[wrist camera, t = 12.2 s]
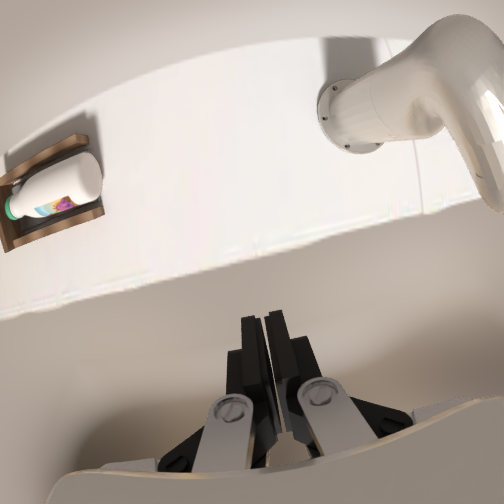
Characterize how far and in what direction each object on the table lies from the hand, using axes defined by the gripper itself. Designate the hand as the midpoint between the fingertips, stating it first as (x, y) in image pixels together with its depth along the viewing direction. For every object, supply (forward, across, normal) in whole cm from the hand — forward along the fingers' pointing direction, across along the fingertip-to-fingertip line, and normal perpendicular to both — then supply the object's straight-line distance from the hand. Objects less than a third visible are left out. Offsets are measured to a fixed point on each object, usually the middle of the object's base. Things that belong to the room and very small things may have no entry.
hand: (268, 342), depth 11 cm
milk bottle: (+29, +21, -12) cm, 37 cm away
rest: (+33, +34, -12) cm, 49 cm away
